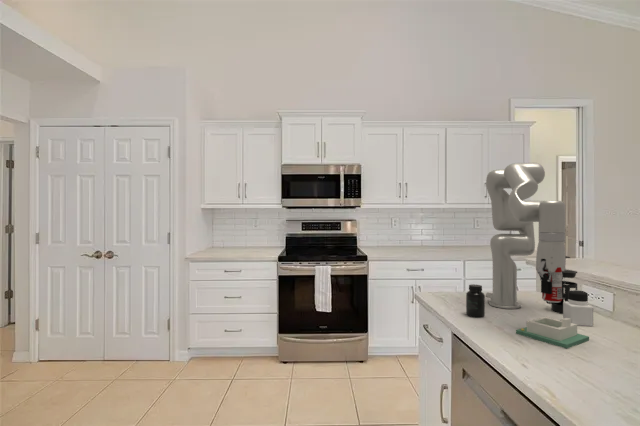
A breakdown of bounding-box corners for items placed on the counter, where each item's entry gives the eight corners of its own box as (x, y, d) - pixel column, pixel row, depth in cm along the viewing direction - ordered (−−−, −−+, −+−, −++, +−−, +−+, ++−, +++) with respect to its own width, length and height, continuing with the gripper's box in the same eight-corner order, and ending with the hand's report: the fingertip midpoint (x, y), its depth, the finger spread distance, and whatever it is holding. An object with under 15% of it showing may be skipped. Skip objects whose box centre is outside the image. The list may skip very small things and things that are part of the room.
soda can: (543, 298, 125) (543, 263, 125) (562, 300, 122) (562, 264, 122) (540, 301, 121) (541, 264, 121) (560, 303, 118) (560, 266, 118)
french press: (575, 309, 155) (575, 255, 154) (583, 315, 146) (583, 258, 146) (543, 307, 159) (543, 254, 158) (549, 313, 150) (549, 256, 150)
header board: (515, 333, 125) (515, 312, 125) (538, 326, 132) (538, 307, 132) (566, 348, 111) (566, 325, 111) (589, 340, 118) (589, 318, 118)
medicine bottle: (593, 326, 132) (593, 293, 132) (571, 325, 134) (571, 292, 134) (583, 320, 139) (583, 289, 139) (562, 319, 141) (562, 288, 141)
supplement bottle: (472, 312, 152) (472, 283, 151) (488, 316, 146) (488, 285, 146) (462, 314, 148) (462, 285, 148) (478, 318, 142) (478, 288, 142)
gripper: (553, 236, 129) (553, 287, 129) (525, 238, 120) (525, 293, 120) (577, 237, 123) (577, 291, 123) (549, 239, 114) (549, 297, 114)
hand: (551, 291), depth 122 cm, fingers closed on soda can, 5 cm apart
